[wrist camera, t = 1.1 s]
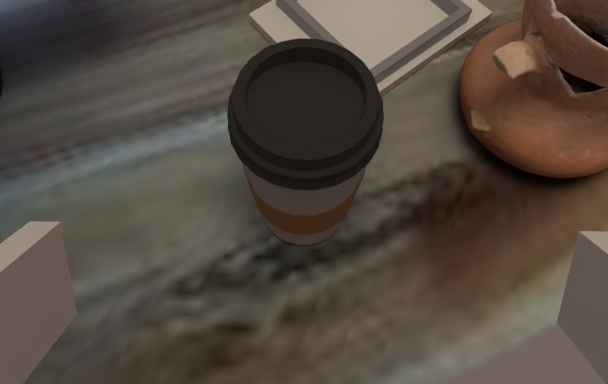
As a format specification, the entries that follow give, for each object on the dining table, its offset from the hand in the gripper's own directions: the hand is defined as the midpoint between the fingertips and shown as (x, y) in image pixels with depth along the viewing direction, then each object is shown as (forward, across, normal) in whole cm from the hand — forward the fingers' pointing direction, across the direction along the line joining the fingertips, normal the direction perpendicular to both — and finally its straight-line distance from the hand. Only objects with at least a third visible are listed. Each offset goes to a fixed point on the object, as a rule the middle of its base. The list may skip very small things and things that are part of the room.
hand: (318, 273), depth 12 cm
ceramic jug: (+30, +20, -2) cm, 36 cm away
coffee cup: (+24, 0, -8) cm, 25 cm away
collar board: (+37, +6, +6) cm, 38 cm away
